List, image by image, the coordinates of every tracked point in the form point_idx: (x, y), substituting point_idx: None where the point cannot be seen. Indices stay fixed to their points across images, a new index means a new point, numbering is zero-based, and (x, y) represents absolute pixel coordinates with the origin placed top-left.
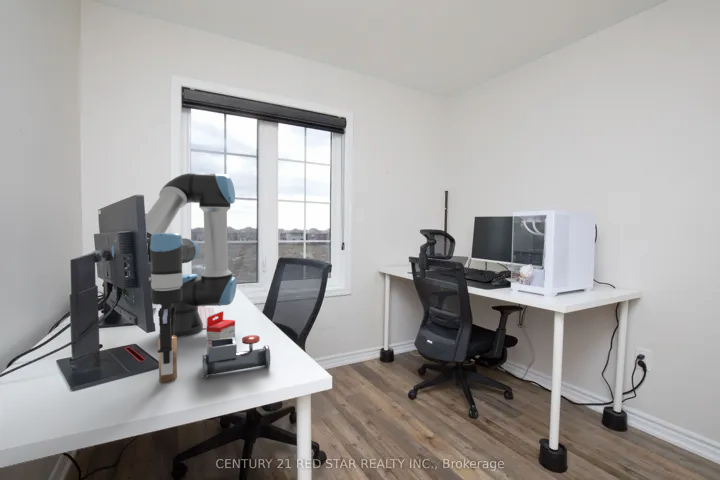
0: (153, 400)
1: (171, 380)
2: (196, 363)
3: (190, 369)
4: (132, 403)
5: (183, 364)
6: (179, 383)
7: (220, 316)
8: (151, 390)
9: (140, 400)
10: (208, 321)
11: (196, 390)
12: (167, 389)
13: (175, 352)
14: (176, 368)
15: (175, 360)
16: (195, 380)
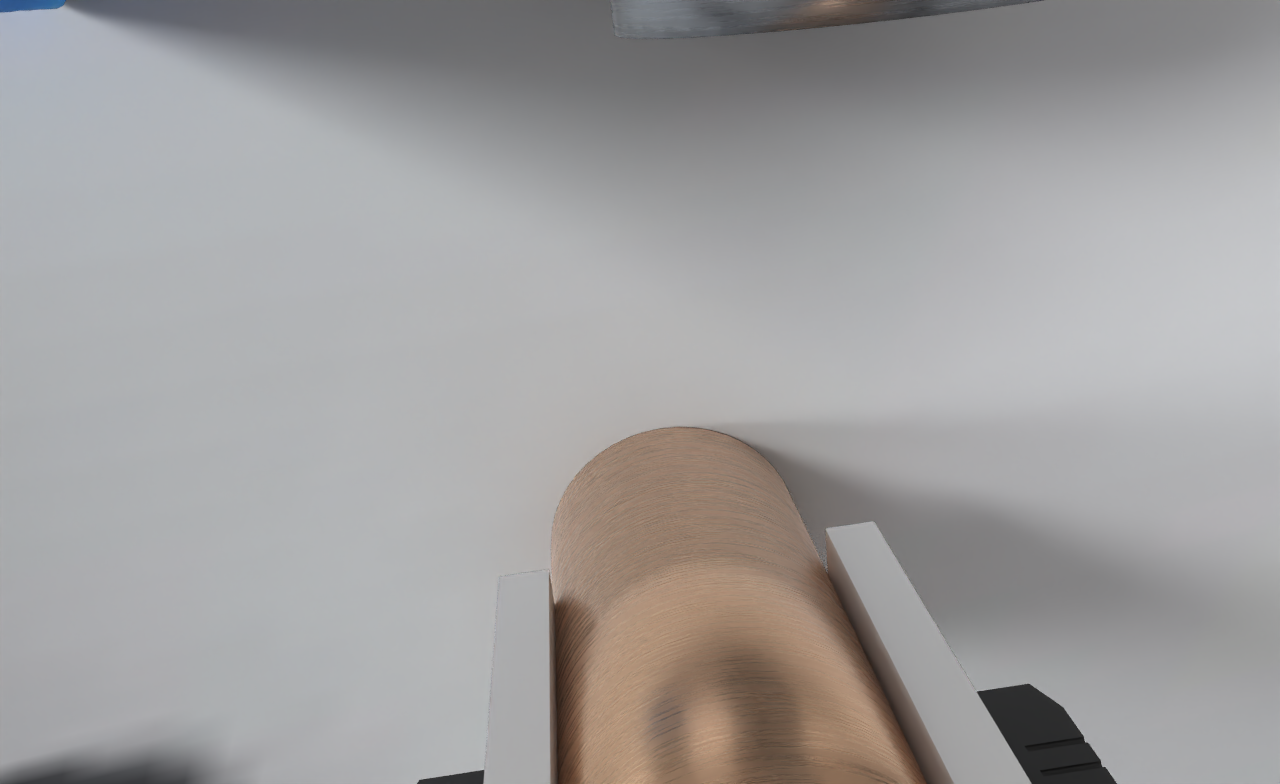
0: (1269, 551)
1: (781, 484)
2: (60, 223)
3: (350, 283)
4: (1221, 740)
5: (80, 448)
6: (887, 348)
7: None
8: (962, 649)
9: (1189, 686)
10: None
11: (1269, 34)
12: (1024, 467)
13: (834, 732)
14: (723, 509)
15: (794, 612)
16: (872, 113)
